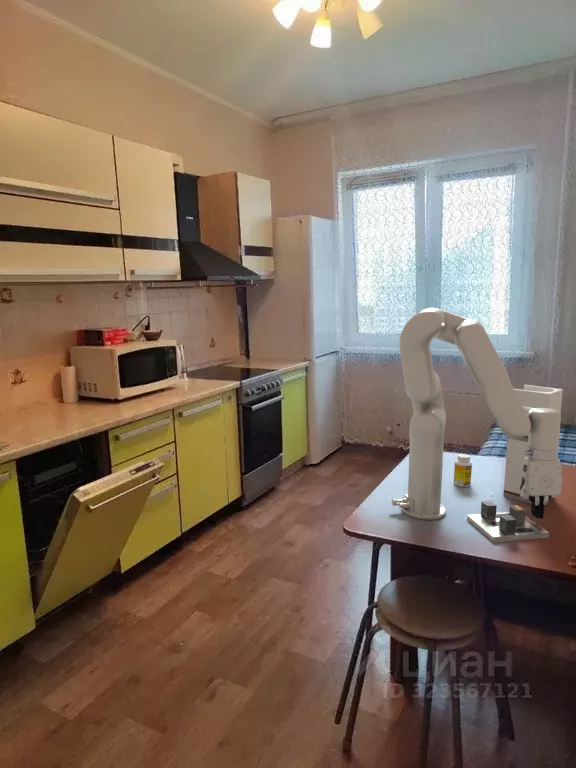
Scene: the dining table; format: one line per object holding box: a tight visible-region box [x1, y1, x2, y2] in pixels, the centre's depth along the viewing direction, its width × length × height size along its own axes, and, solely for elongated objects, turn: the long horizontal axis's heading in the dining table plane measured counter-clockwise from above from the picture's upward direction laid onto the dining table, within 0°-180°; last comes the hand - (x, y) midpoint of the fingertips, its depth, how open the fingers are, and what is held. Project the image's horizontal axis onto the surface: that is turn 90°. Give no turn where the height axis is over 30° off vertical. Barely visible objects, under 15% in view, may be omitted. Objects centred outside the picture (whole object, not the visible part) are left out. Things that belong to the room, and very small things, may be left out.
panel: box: [466, 500, 550, 543], centre depth 145 cm, size 16×14×6 cm
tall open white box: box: [502, 384, 564, 505], centre depth 166 cm, size 11×11×35 cm
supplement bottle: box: [453, 453, 473, 488], centre depth 178 cm, size 6×6×10 cm
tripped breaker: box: [508, 504, 527, 524], centre depth 146 cm, size 3×3×4 cm
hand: (537, 516), depth 147 cm, fingers closed
